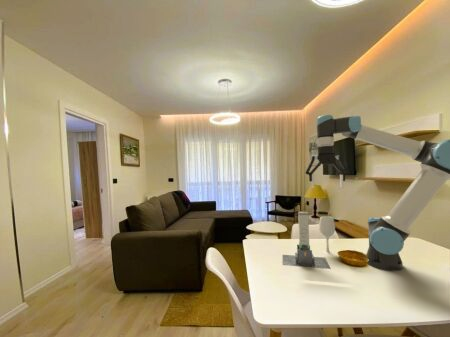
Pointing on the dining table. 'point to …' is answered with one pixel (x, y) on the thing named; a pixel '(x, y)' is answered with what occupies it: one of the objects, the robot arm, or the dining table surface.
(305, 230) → the column
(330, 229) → the wineglass
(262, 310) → the dining table surface
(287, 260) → the stand base
